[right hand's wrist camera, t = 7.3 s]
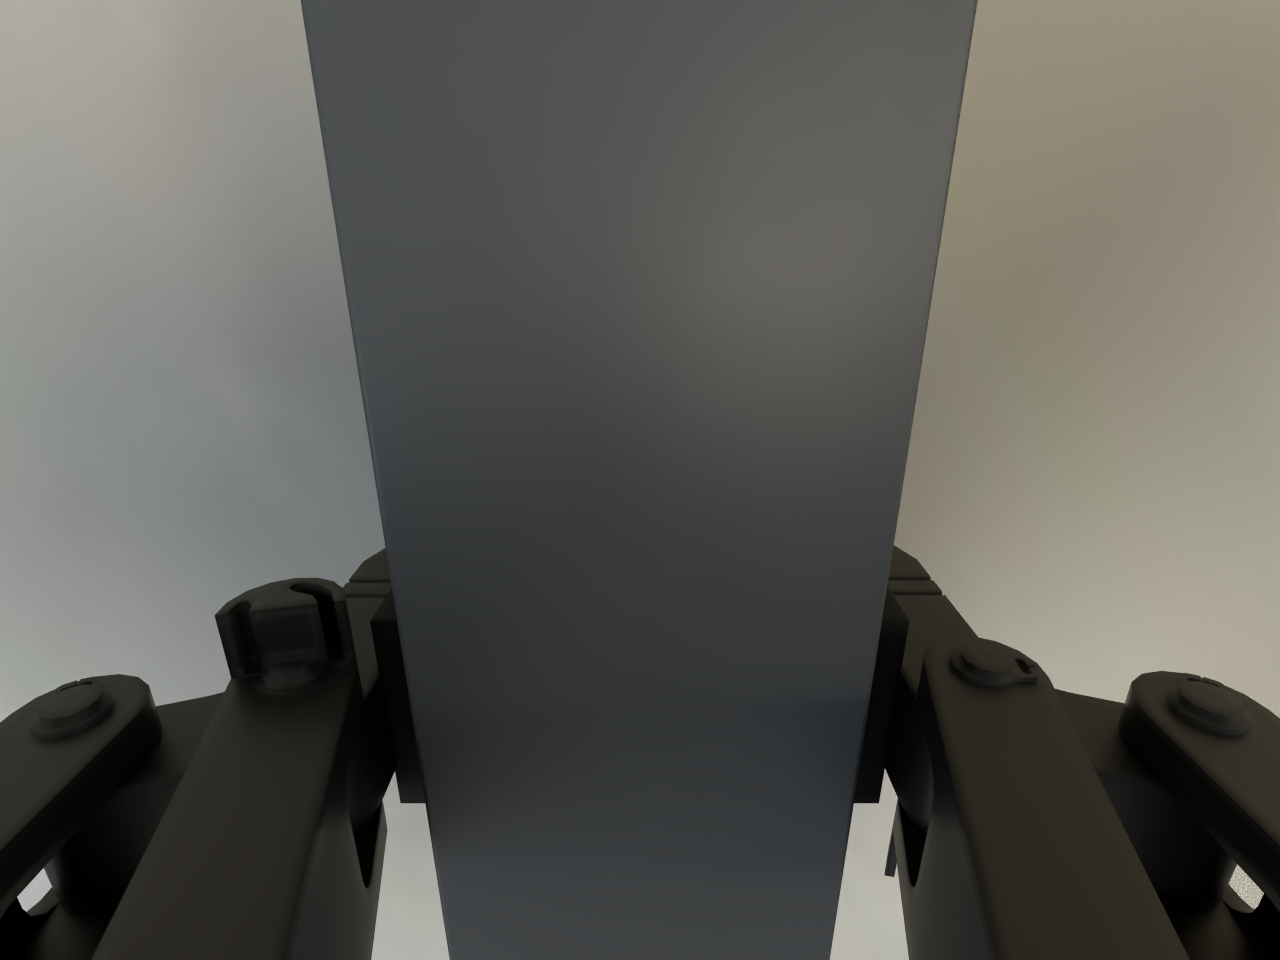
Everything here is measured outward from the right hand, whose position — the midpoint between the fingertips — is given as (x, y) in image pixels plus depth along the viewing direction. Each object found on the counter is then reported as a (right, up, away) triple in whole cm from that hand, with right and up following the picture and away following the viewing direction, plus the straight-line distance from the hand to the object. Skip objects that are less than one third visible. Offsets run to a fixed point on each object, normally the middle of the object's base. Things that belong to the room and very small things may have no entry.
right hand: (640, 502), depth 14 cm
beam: (0, +29, -11) cm, 31 cm away
